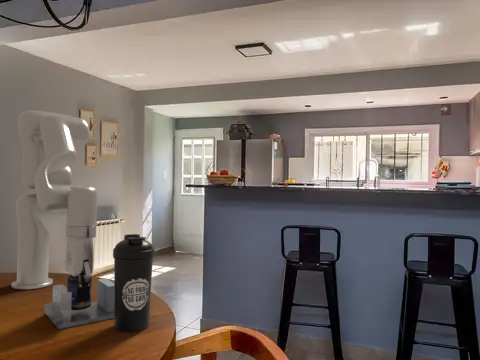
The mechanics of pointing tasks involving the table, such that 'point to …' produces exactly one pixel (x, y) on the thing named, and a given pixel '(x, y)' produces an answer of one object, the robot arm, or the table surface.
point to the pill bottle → (72, 287)
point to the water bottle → (132, 283)
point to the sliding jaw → (105, 294)
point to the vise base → (65, 316)
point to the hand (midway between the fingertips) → (79, 297)
